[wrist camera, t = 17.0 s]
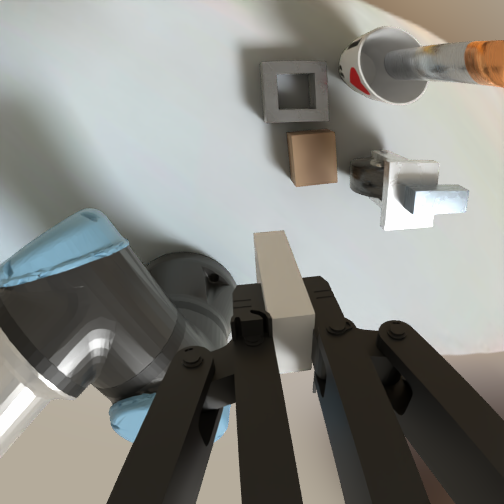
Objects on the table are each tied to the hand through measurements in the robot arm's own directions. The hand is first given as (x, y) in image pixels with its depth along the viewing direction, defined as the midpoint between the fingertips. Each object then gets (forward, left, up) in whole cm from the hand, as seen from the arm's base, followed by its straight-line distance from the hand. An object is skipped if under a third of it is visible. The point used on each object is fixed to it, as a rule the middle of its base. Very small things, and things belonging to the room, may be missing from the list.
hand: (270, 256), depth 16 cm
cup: (+14, +11, -25) cm, 31 cm away
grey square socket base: (+6, +8, -24) cm, 26 cm away
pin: (+15, +11, -14) cm, 23 cm away
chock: (+8, 0, -25) cm, 26 cm away
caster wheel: (+16, -2, -24) cm, 29 cm away
